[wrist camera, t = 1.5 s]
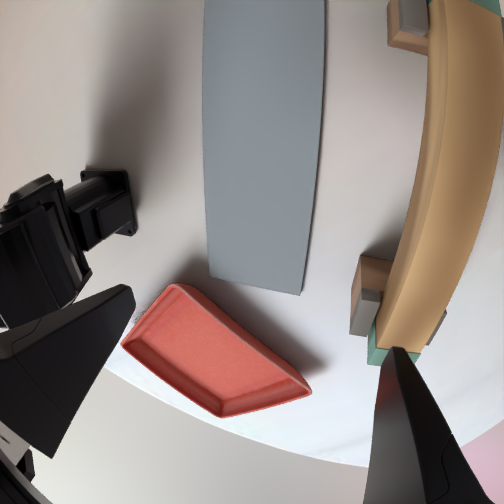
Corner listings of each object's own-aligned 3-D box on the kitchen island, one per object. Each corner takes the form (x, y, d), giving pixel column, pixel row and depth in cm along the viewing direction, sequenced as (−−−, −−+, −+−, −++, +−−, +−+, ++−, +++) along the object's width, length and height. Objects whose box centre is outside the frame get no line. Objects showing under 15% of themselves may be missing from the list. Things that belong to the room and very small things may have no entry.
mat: (211, 274, 25) (209, 277, 25) (208, -12, 12) (205, -14, 12) (300, 292, 23) (299, 295, 23) (323, -19, 10) (323, -21, 10)
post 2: (351, 287, 21) (349, 334, 17) (360, 255, 20) (361, 299, 15) (418, 298, 20) (428, 345, 15) (430, 268, 18) (447, 313, 14)
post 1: (387, 45, 12) (404, 24, 8) (386, 7, 10) (400, -24, 6) (470, 71, 10) (508, 66, 6) (469, 33, 9) (504, 18, 5)
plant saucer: (320, 371, 28) (315, 395, 25) (227, 403, 38) (219, 420, 35) (190, 260, 25) (171, 280, 23) (131, 329, 36) (118, 344, 33)
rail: (367, 330, 18) (367, 364, 15) (422, -15, 6) (437, -37, 4) (406, 335, 17) (410, 369, 14) (473, 4, 6) (496, -10, 3)
